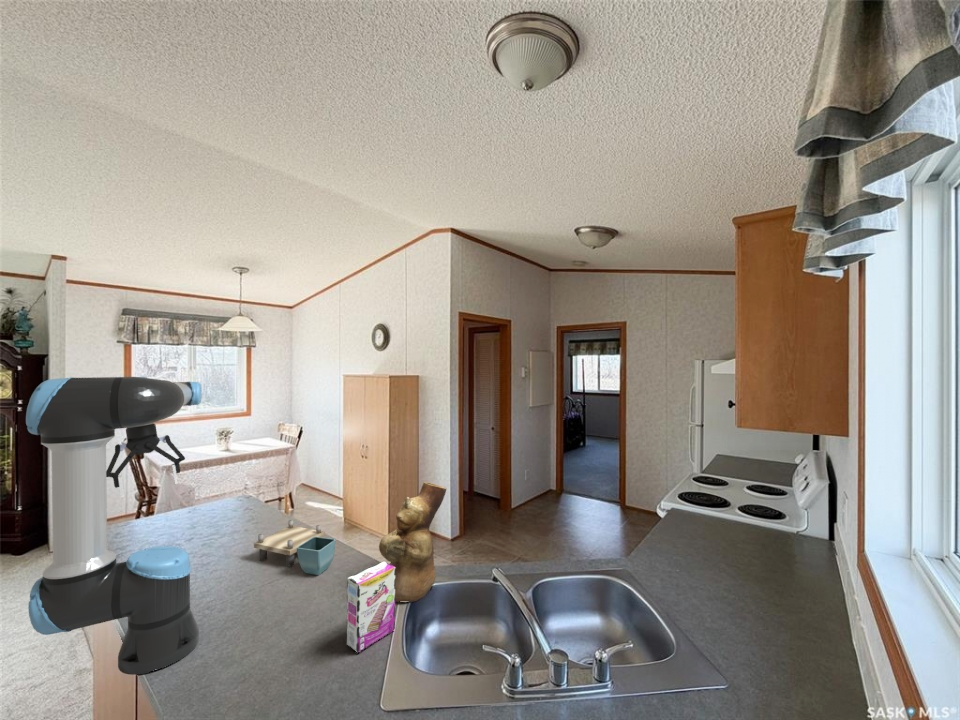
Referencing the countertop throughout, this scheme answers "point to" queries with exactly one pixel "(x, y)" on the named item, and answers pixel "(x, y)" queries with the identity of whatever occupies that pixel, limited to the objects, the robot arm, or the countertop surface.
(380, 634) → the candy bar box
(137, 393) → the robot arm
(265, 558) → the plant stand
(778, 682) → the countertop surface
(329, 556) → the flower pot
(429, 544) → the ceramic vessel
